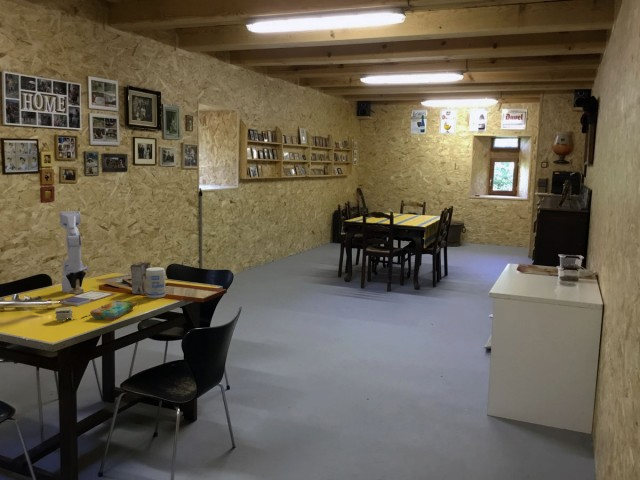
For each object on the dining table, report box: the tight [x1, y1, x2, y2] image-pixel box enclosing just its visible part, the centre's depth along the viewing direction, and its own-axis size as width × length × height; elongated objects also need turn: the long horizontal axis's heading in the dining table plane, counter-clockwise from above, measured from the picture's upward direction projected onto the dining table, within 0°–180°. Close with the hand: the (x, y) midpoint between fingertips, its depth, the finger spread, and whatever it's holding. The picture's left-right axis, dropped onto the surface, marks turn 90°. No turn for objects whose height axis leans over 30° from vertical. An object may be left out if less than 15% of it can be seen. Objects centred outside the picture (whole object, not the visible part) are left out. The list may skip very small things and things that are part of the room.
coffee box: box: [130, 261, 151, 297], centre depth 288 cm, size 9×6×16 cm
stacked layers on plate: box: [54, 306, 74, 322], centre depth 240 cm, size 10×9×6 cm
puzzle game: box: [89, 300, 138, 321], centre depth 250 cm, size 12×5×20 cm
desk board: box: [55, 290, 117, 308], centre depth 275 cm, size 18×27×1 cm, turn 158°
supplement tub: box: [145, 266, 166, 299], centre depth 282 cm, size 10×10×15 cm
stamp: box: [68, 279, 85, 296], centre depth 264 cm, size 5×4×7 cm
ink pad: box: [64, 298, 92, 307], centre depth 265 cm, size 9×8×2 cm
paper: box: [73, 290, 112, 300], centre depth 280 cm, size 14×12×1 cm
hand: (76, 287), depth 264 cm, fingers closed on stamp, 3 cm apart
